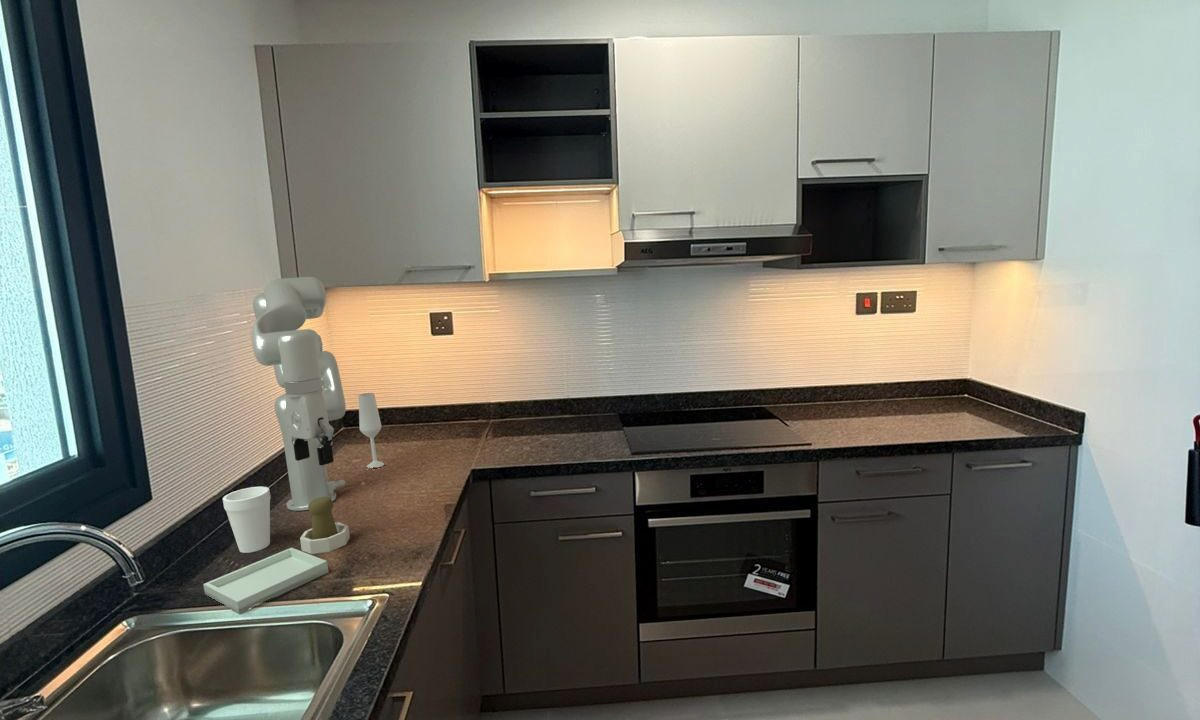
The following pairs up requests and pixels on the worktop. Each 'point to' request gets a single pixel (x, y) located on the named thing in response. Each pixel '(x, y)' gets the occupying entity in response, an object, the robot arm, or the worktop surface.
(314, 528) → the cork
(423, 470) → the worktop surface
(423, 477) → the worktop surface
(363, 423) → the champagne flute
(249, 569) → the tray
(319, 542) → the collar
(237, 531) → the foam cup
